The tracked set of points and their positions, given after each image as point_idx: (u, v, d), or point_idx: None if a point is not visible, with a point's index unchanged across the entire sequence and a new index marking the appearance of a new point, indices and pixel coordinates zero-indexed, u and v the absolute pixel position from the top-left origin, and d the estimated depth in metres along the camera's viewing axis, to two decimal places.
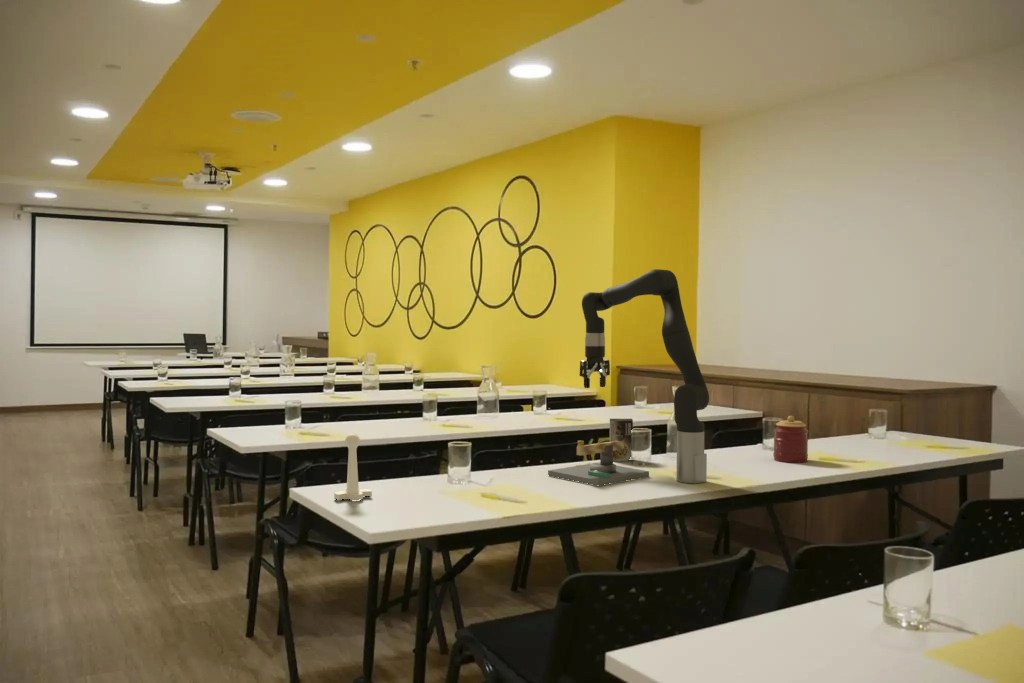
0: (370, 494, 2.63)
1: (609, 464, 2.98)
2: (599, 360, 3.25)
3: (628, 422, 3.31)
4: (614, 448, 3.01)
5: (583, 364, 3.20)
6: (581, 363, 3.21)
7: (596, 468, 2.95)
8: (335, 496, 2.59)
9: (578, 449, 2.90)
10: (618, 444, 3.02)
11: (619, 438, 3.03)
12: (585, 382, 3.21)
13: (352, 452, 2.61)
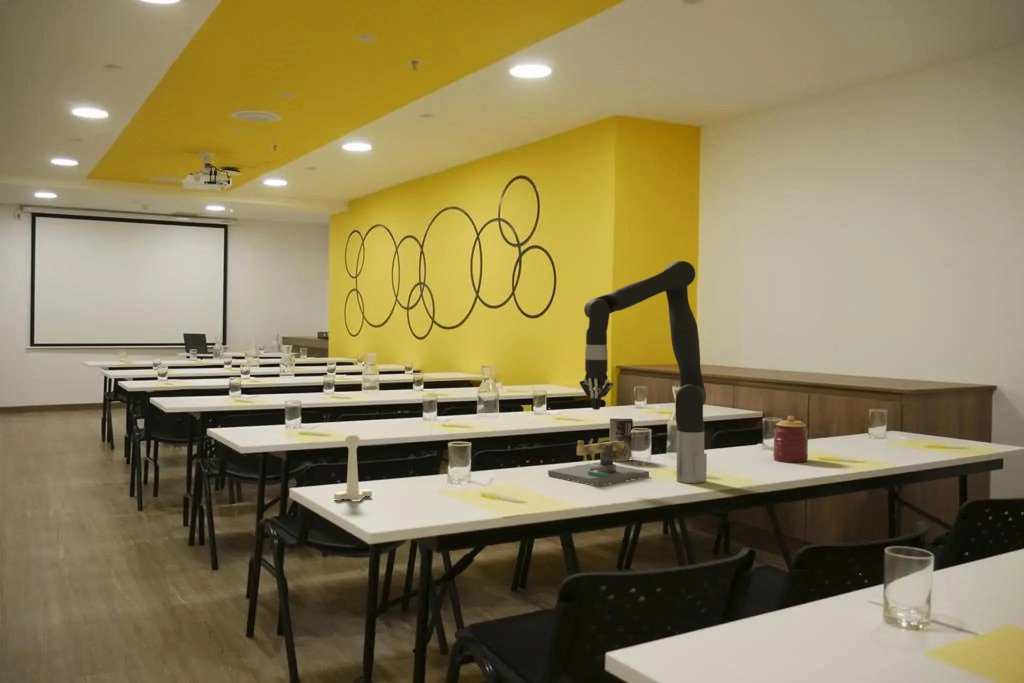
0: (370, 494, 2.63)
1: (609, 464, 2.98)
2: None
3: (628, 422, 3.31)
4: (614, 448, 3.01)
5: (610, 387, 2.85)
6: (609, 386, 2.84)
7: (596, 468, 2.95)
8: (335, 496, 2.59)
9: (578, 449, 2.90)
10: (618, 444, 3.02)
11: (619, 438, 3.03)
12: (599, 403, 2.87)
13: (352, 452, 2.61)
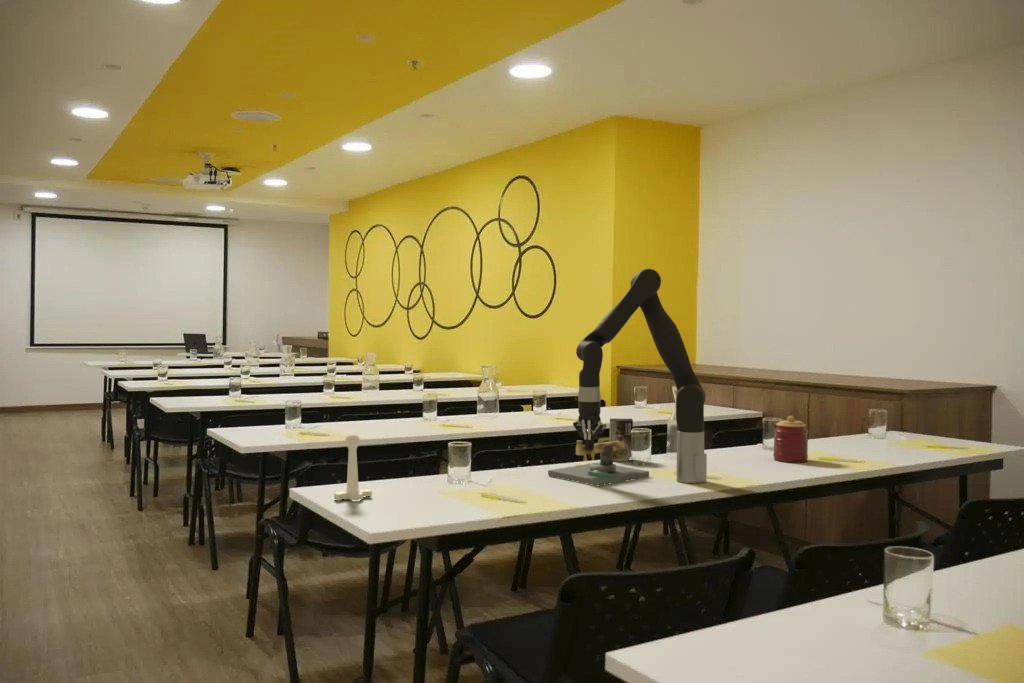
0: (370, 494, 2.63)
1: (609, 464, 2.97)
2: None
3: (628, 422, 3.31)
4: (614, 448, 3.01)
5: (603, 429, 2.87)
6: (602, 428, 2.86)
7: (595, 468, 2.95)
8: (335, 496, 2.59)
9: (577, 449, 2.91)
10: (619, 444, 3.02)
11: (619, 438, 3.03)
12: (593, 444, 2.89)
13: (352, 452, 2.61)
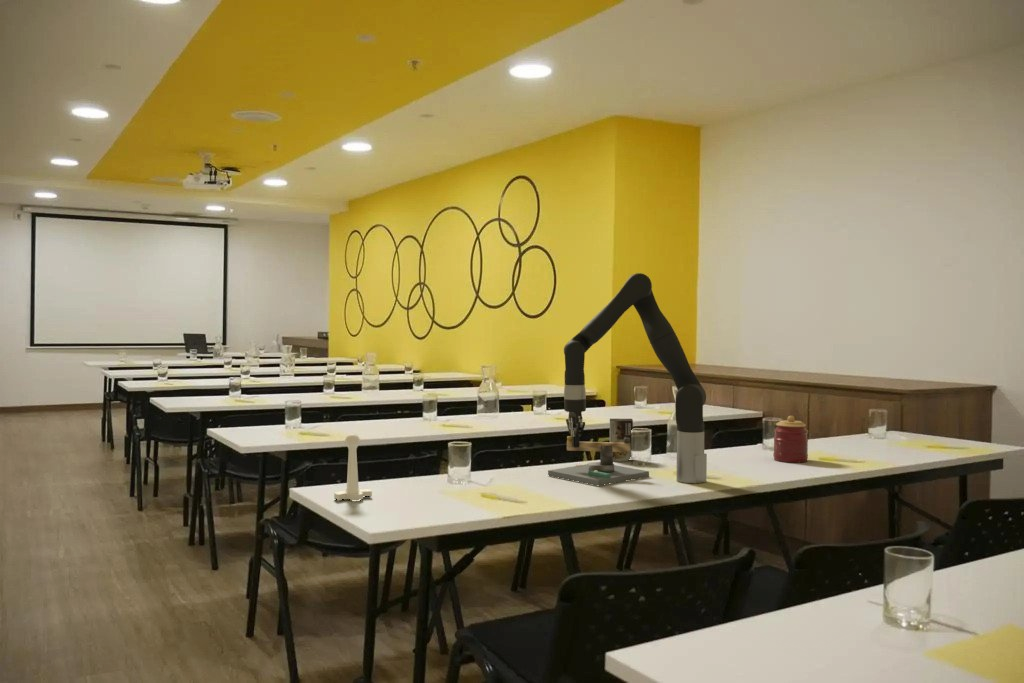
0: (370, 494, 2.63)
1: (604, 464, 2.98)
2: None
3: (628, 422, 3.31)
4: (615, 449, 2.98)
5: (582, 426, 2.93)
6: (580, 425, 2.93)
7: None
8: (335, 496, 2.59)
9: None
10: (621, 446, 2.98)
11: (624, 440, 2.98)
12: (577, 441, 2.97)
13: (352, 452, 2.61)
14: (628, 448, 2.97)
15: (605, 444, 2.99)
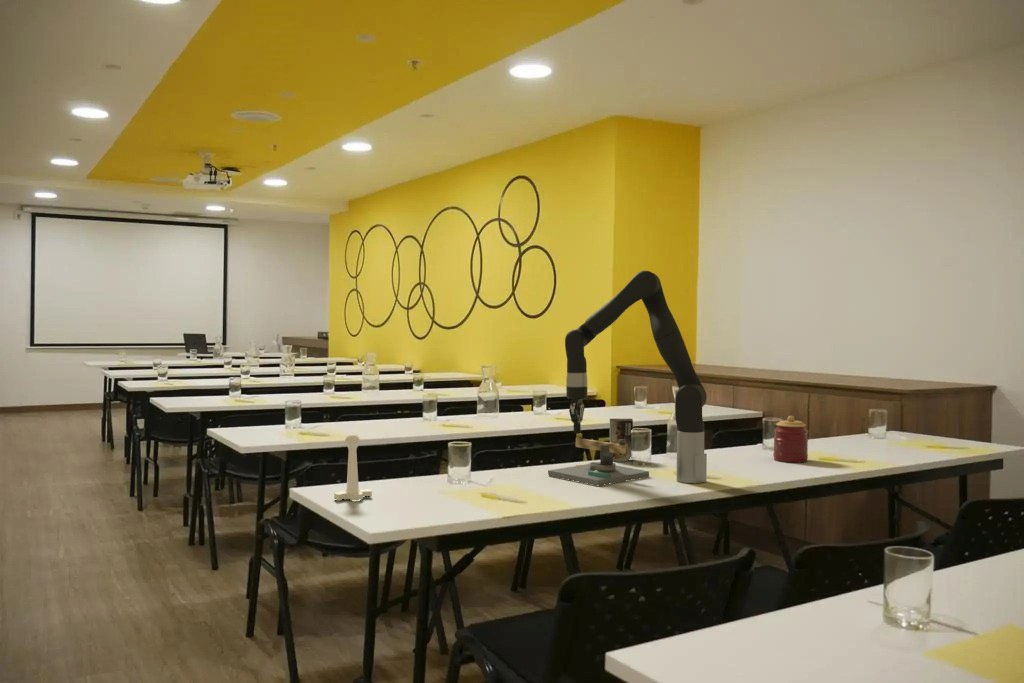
0: (370, 494, 2.63)
1: (601, 463, 2.99)
2: (580, 401, 3.07)
3: (628, 422, 3.31)
4: (611, 450, 2.97)
5: (574, 413, 3.00)
6: (571, 412, 3.00)
7: None
8: (335, 496, 2.59)
9: None
10: (616, 448, 2.95)
11: None
12: (576, 428, 3.04)
13: (352, 452, 2.61)
14: (621, 450, 2.93)
15: (604, 444, 2.99)
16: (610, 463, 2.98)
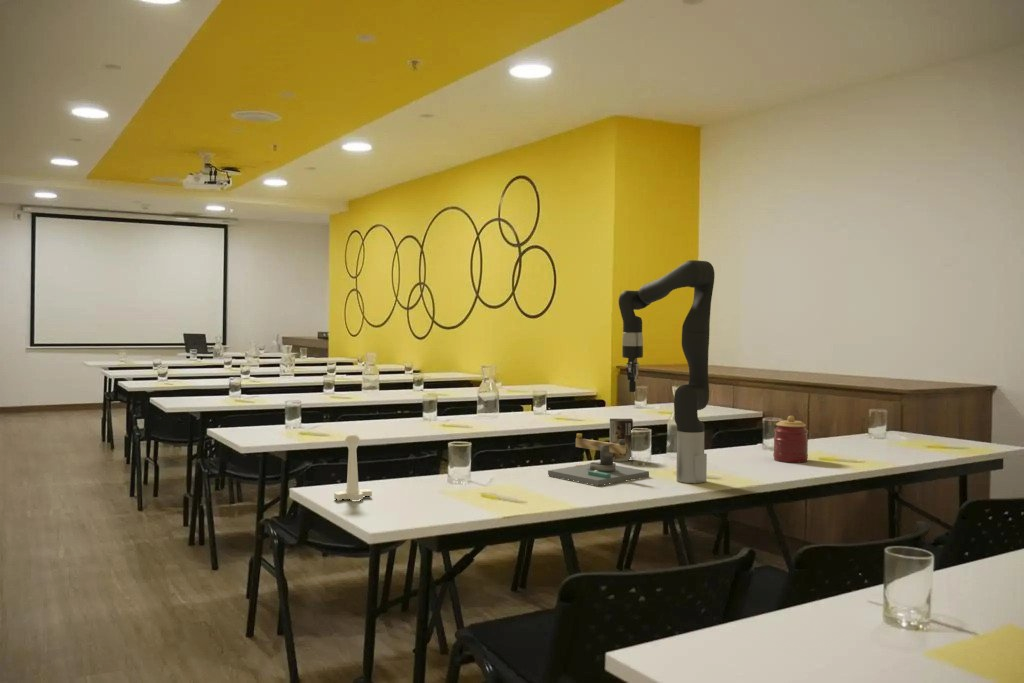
0: (370, 494, 2.63)
1: (601, 463, 2.99)
2: (636, 360, 3.15)
3: (628, 422, 3.31)
4: (611, 450, 2.97)
5: (631, 371, 3.09)
6: (628, 370, 3.09)
7: None
8: (335, 496, 2.59)
9: None
10: (616, 448, 2.95)
11: None
12: (632, 386, 3.13)
13: (352, 452, 2.61)
14: (621, 450, 2.93)
15: (604, 444, 2.99)
16: (610, 463, 2.98)
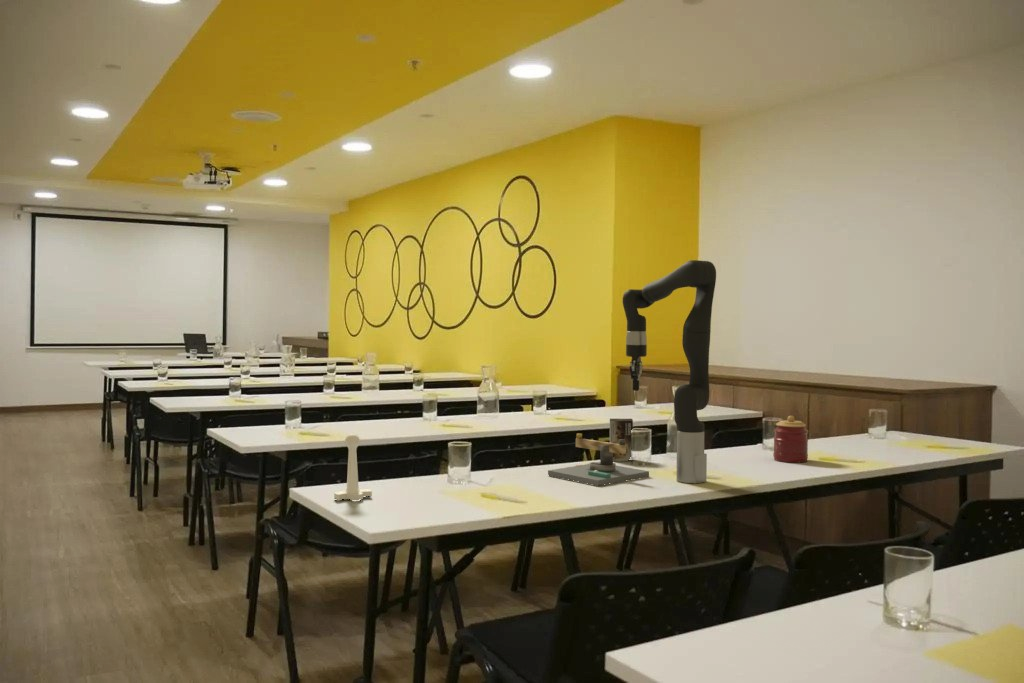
0: (370, 494, 2.63)
1: (601, 463, 2.99)
2: (639, 359, 3.16)
3: (628, 422, 3.31)
4: (611, 450, 2.97)
5: (634, 370, 3.09)
6: (631, 369, 3.09)
7: None
8: (335, 496, 2.59)
9: None
10: (616, 448, 2.95)
11: None
12: (635, 385, 3.13)
13: (352, 452, 2.61)
14: (621, 450, 2.93)
15: (604, 444, 2.99)
16: (610, 463, 2.98)
